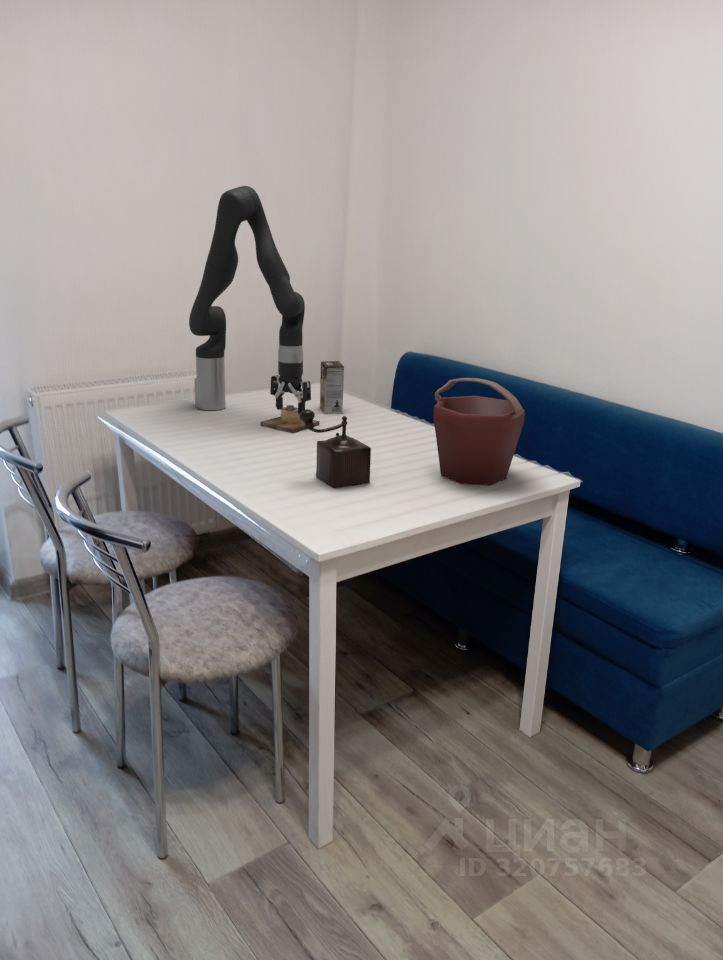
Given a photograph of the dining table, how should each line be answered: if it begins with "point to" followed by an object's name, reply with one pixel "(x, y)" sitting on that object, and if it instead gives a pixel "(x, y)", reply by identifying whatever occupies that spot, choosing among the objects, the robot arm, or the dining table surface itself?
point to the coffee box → (331, 387)
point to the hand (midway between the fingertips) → (290, 411)
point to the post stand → (291, 428)
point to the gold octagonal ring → (290, 416)
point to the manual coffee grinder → (339, 456)
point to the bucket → (477, 434)
